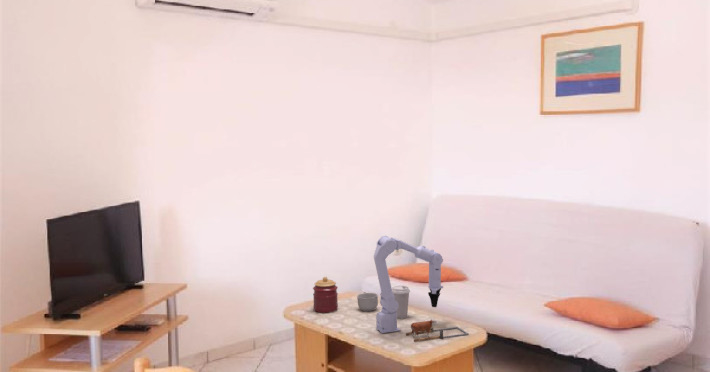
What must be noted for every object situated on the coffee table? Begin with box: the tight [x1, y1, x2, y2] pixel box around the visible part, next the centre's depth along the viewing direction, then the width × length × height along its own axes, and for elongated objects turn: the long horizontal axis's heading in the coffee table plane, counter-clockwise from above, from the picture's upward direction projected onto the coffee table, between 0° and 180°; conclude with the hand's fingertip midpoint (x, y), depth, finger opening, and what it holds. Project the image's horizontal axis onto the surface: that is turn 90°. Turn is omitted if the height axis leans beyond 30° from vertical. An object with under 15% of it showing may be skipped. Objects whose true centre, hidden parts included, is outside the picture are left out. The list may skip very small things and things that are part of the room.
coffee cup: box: [391, 285, 411, 319], centre depth 310 cm, size 10×10×15 cm
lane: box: [432, 326, 470, 339], centre depth 284 cm, size 13×11×1 cm
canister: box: [312, 276, 339, 314], centre depth 325 cm, size 13×13×18 cm
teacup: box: [356, 292, 379, 312], centre depth 325 cm, size 14×11×8 cm
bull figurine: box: [410, 317, 440, 339], centre depth 280 cm, size 4×13×8 cm, turn 106°
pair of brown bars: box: [405, 327, 444, 343], centre depth 280 cm, size 14×12×4 cm
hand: (434, 304), depth 296 cm, fingers open, 7 cm apart
